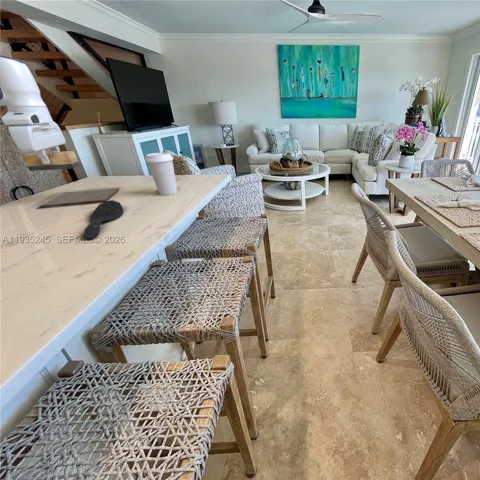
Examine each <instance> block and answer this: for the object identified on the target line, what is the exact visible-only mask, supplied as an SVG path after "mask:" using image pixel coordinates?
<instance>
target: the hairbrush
mask: <svg viewBox="0 0 480 480" xmlns="http://www.w3.org/2000/svg"><path fill="white" fill-rule="evenodd" d="M94 204H95V206H96V207H95V206H93V207H92V209H90V210H91V211H90V212H91V213H89V218H90V221H91V222H90V223H89V224H88V225H87V226H86V227H85V228H84V231H83V237H84V239H85V240H87V241H93V240H95V239H96V238H97V237H98V236H99V235H100V232H101V225H102V223H103V222H108V221H113V220H117V219H119V218H121V217H122V216H123V215H124V208H123V205H122V204H121V202H119V201H117V200H114V199H109V200H108V201H104V202H103V203H99V204H98V205H97V203H94Z"/></svg>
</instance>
